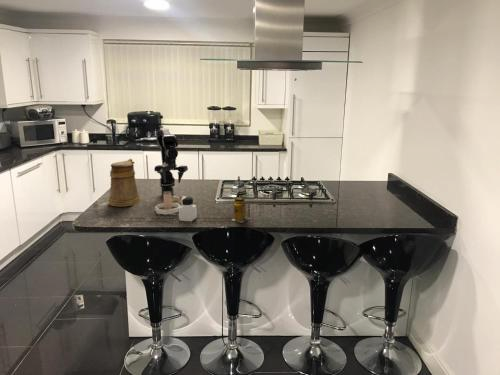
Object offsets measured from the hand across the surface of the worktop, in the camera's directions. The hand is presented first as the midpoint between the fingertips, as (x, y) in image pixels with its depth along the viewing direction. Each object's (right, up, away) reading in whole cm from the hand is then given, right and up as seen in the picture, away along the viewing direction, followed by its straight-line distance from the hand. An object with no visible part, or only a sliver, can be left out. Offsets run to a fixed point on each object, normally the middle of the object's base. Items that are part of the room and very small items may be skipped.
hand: (171, 182), depth 250 cm
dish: (-1, -16, -8) cm, 18 cm away
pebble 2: (+3, -11, +6) cm, 13 cm away
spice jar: (-1, -16, -8) cm, 18 cm away
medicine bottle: (+13, -20, -21) cm, 31 cm away
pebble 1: (0, -11, +9) cm, 14 cm away
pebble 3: (+5, -11, +9) cm, 15 cm away
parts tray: (+2, -12, +8) cm, 14 cm away
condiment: (+41, -20, -22) cm, 51 cm away
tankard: (-30, -12, +10) cm, 33 cm away
